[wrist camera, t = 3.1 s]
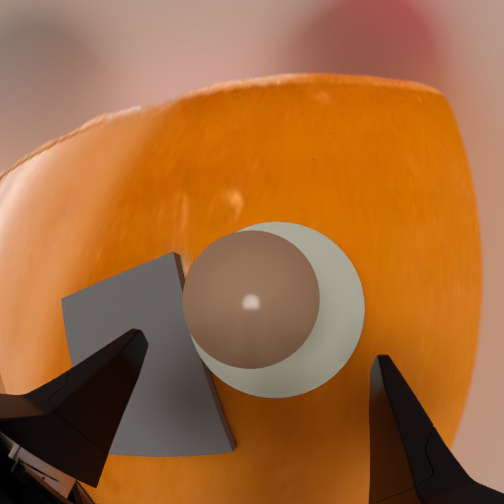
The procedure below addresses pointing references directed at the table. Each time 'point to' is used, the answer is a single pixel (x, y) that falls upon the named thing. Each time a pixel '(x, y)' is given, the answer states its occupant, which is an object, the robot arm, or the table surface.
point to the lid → (274, 309)
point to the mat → (152, 361)
